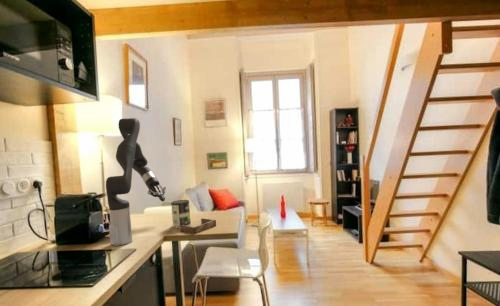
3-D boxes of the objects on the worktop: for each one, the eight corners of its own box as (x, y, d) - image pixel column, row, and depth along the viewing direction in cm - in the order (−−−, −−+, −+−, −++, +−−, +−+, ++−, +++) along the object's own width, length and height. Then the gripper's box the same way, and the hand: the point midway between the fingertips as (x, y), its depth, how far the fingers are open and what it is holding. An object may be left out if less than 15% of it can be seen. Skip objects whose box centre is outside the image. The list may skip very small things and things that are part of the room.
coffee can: (192, 222, 169) (190, 199, 169) (188, 227, 159) (186, 202, 159) (175, 223, 169) (173, 200, 169) (170, 228, 159) (168, 203, 159)
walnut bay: (194, 233, 146) (194, 227, 146) (181, 230, 152) (180, 225, 152) (216, 225, 158) (215, 219, 158) (202, 223, 165) (202, 218, 165)
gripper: (143, 177, 174) (156, 198, 166) (161, 175, 184) (174, 194, 177) (139, 186, 177) (152, 206, 170) (157, 183, 187) (170, 202, 180)
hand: (163, 200), depth 173 cm, fingers closed
